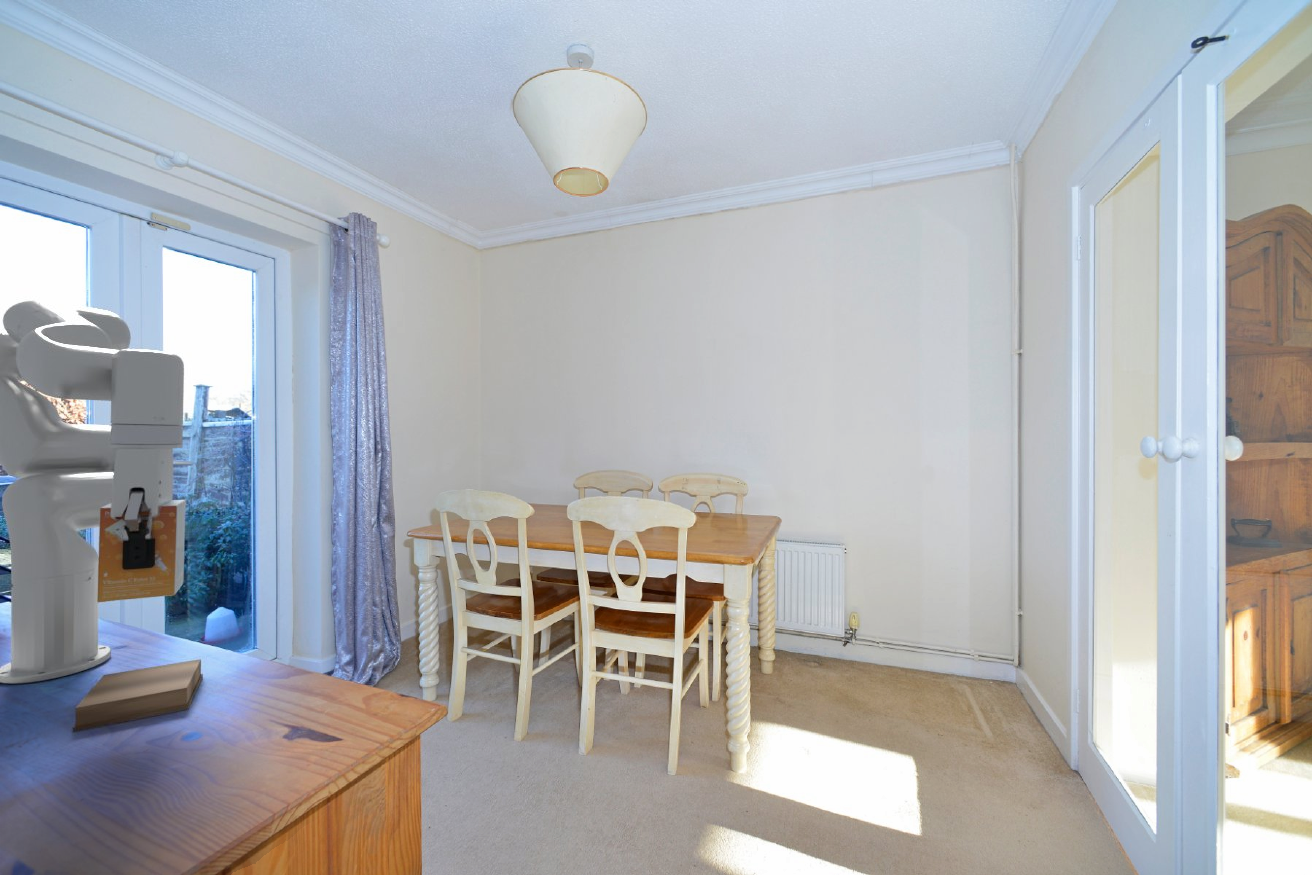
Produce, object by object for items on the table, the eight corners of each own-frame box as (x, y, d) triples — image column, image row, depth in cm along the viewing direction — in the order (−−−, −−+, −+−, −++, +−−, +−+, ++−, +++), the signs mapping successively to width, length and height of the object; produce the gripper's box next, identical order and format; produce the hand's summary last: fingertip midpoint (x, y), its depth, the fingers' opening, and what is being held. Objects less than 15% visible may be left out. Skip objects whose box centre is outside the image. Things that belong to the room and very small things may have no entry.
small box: (96, 604, 72) (97, 507, 72) (110, 591, 78) (112, 501, 78) (176, 595, 77) (177, 504, 77) (184, 584, 82) (186, 498, 82)
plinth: (102, 694, 79) (102, 674, 79) (202, 677, 85) (202, 658, 85) (72, 732, 69) (72, 708, 69) (188, 709, 76) (188, 687, 76)
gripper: (129, 435, 82) (127, 552, 83) (89, 439, 68) (87, 581, 68) (193, 436, 86) (191, 547, 87) (168, 440, 72) (166, 574, 72)
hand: (145, 561), depth 77 cm, fingers closed on small box, 6 cm apart
